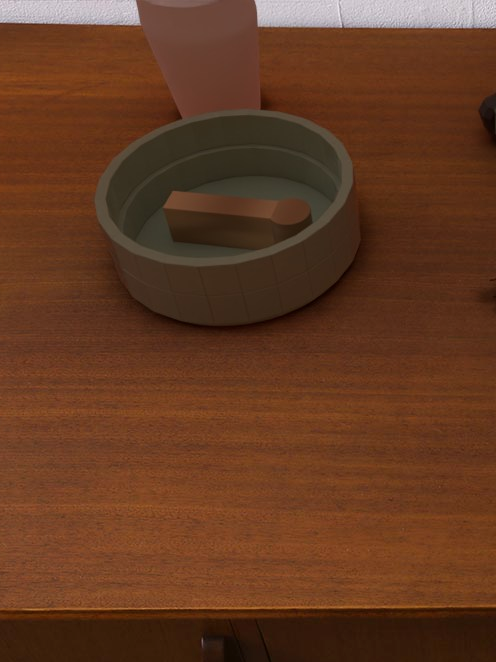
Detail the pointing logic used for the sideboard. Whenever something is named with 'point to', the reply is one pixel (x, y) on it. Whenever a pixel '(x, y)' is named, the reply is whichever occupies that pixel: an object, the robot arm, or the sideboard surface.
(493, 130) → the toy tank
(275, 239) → the round-ended wooden block
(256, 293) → the bowl
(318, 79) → the sideboard surface
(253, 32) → the cup
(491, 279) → the insect
